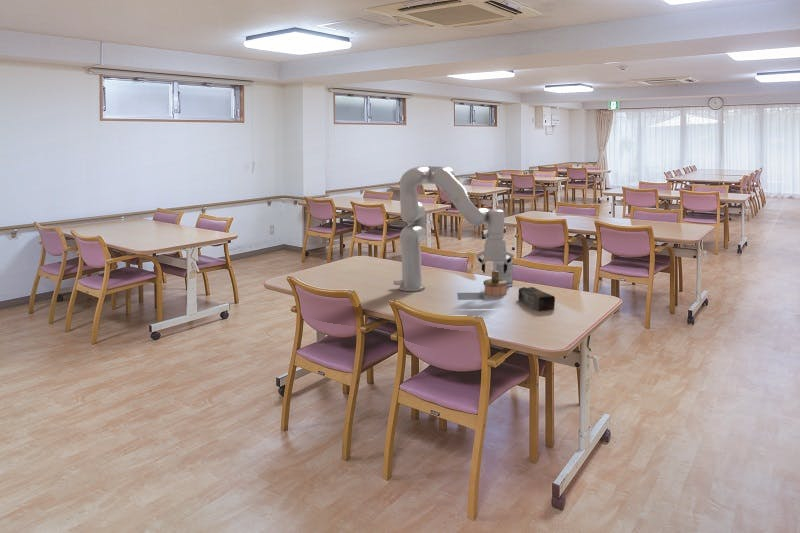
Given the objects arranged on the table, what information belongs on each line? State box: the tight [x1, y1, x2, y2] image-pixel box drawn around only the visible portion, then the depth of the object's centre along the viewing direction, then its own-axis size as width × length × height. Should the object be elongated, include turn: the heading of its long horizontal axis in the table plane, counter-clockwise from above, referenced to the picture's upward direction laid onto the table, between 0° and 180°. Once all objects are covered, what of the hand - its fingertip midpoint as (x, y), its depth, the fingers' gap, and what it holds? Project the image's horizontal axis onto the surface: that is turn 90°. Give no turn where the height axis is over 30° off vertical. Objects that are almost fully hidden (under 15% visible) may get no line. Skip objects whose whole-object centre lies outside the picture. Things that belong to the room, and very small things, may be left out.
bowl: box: [484, 285, 508, 297], centre depth 285 cm, size 10×10×5 cm
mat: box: [456, 292, 485, 301], centre depth 282 cm, size 12×12×1 cm
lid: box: [483, 270, 507, 287], centre depth 284 cm, size 11×11×6 cm
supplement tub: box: [492, 255, 514, 287], centre depth 300 cm, size 10×10×15 cm
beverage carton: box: [517, 286, 556, 312], centre depth 266 cm, size 8×19×7 cm, turn 16°
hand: (494, 272), depth 284 cm, fingers open, 9 cm apart
